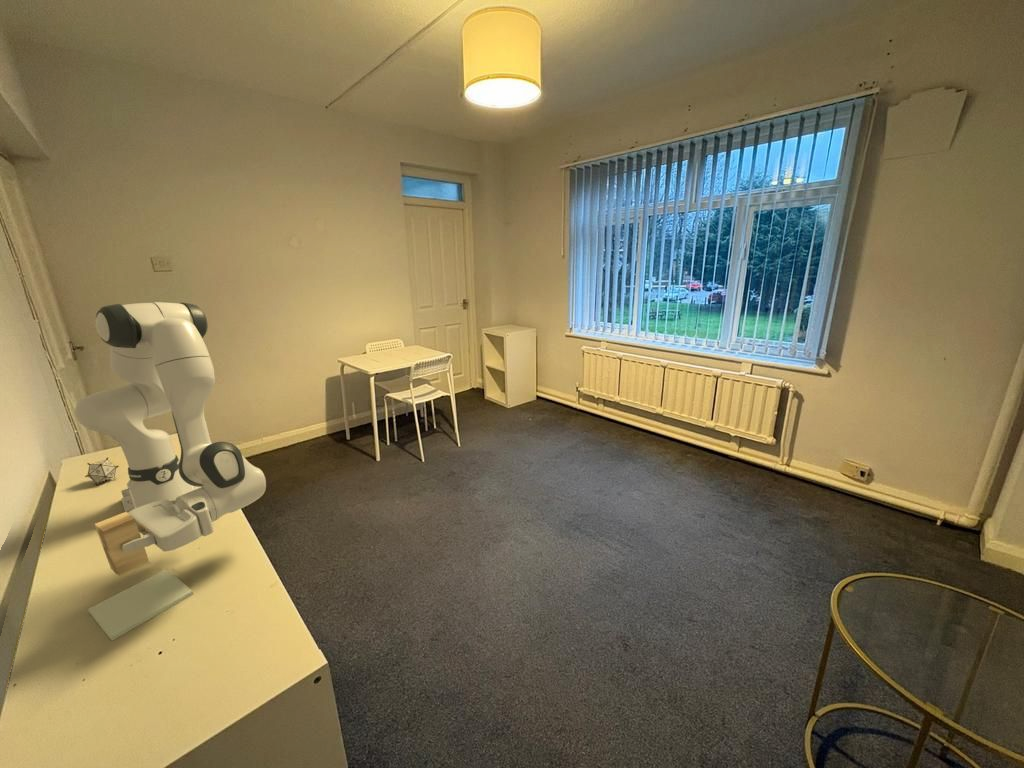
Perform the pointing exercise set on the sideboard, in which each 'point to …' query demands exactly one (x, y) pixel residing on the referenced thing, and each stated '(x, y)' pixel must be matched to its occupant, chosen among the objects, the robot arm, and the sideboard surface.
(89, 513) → the sideboard surface
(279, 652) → the sideboard surface
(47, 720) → the sideboard surface
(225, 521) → the sideboard surface
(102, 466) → the game die
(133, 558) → the maple block
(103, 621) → the sage mat
